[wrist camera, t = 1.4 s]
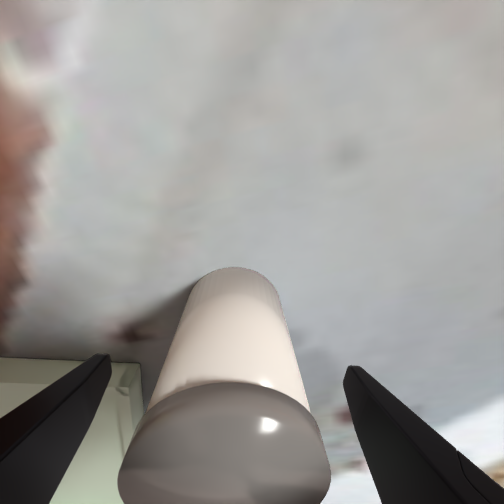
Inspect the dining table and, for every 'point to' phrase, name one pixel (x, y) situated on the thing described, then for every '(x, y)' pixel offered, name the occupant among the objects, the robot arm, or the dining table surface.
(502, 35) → the dining table surface
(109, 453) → the tray
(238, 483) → the spice jar
